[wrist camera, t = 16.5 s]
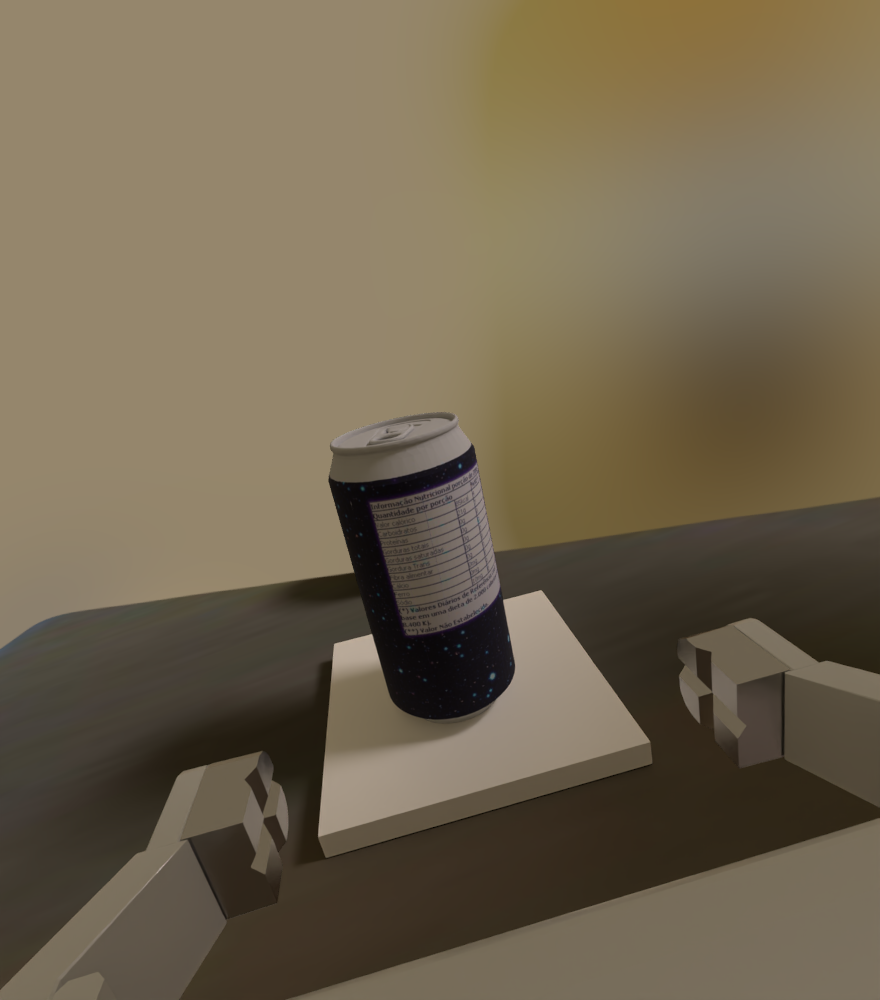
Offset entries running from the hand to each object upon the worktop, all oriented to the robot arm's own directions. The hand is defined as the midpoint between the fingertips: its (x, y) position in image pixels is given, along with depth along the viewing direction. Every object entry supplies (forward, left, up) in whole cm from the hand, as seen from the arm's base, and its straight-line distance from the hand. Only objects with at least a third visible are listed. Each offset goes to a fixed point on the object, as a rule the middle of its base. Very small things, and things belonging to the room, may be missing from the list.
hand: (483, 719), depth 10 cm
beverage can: (0, -12, -8) cm, 14 cm away
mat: (0, -12, -9) cm, 15 cm away
